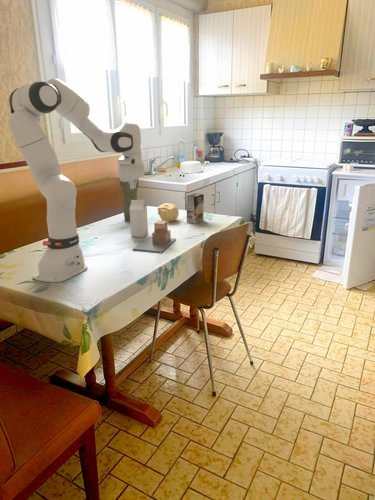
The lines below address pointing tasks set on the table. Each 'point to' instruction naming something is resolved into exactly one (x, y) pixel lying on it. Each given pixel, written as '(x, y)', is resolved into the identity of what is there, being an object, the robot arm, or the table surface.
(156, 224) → the top block
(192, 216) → the coffee box
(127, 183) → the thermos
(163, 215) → the sculpture
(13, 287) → the table surface
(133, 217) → the milk carton
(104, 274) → the table surface
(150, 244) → the building board
